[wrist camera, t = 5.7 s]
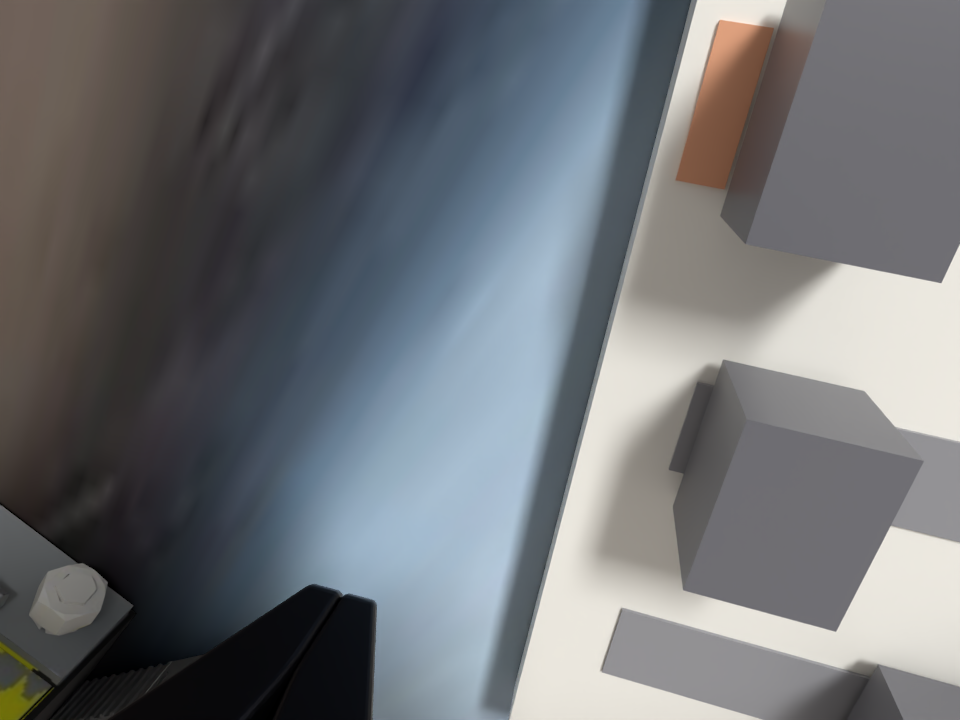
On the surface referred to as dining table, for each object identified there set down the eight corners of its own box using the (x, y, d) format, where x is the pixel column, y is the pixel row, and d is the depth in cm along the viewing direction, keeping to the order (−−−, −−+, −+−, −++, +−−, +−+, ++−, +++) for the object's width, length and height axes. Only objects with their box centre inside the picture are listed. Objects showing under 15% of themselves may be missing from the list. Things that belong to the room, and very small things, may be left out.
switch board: (1567, -69, 11) (1768, -107, 9) (941, 811, 20) (975, 884, 18) (734, -167, 13) (753, -216, 11) (515, 683, 22) (504, 737, 20)
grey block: (864, 391, 14) (924, 460, 11) (797, 538, 15) (835, 632, 13) (723, 359, 14) (747, 419, 11) (672, 506, 16) (682, 590, 13)
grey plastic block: (965, 21, 11) (1076, -7, 8) (872, 245, 13) (941, 283, 10) (788, -5, 11) (839, -41, 9) (719, 216, 13) (745, 244, 10)
